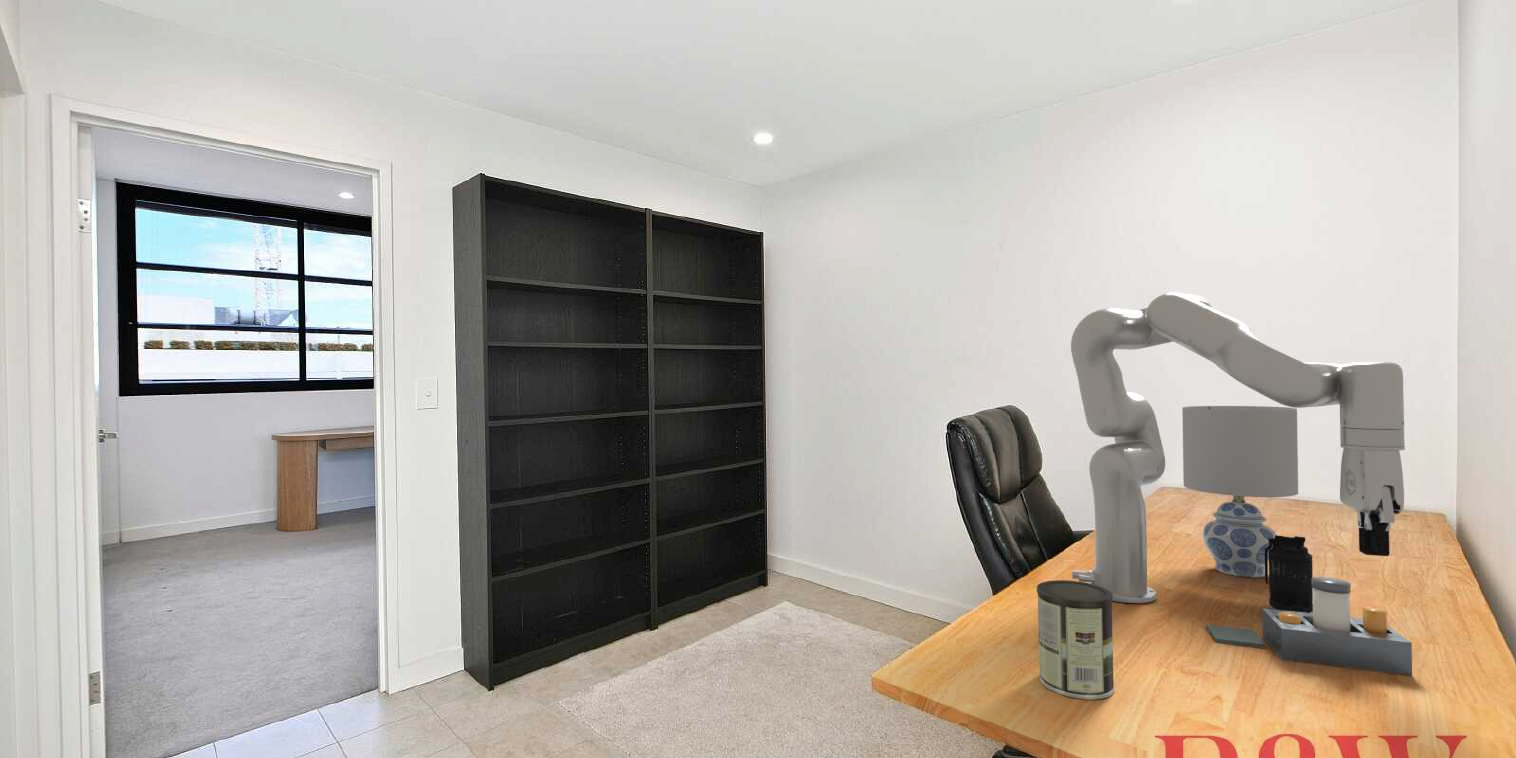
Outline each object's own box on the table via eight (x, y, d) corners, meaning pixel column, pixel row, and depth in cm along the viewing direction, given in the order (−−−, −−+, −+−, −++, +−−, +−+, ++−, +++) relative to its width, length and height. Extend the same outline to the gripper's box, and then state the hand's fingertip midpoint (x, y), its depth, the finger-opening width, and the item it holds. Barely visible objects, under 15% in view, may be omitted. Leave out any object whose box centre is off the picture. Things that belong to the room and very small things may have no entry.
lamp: (1187, 554, 168) (1185, 405, 168) (1296, 567, 155) (1293, 406, 155) (1182, 575, 151) (1179, 409, 151) (1303, 592, 138) (1300, 410, 138)
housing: (1282, 659, 106) (1281, 628, 106) (1262, 636, 115) (1262, 608, 115) (1412, 675, 100) (1411, 642, 100) (1380, 650, 109) (1380, 620, 109)
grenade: (1306, 611, 127) (1305, 533, 127) (1318, 622, 121) (1317, 541, 121) (1261, 606, 130) (1260, 530, 130) (1270, 617, 124) (1269, 537, 124)
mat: (1215, 642, 113) (1215, 638, 113) (1206, 627, 120) (1206, 624, 120) (1265, 648, 111) (1265, 644, 111) (1253, 632, 117) (1252, 629, 117)
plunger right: (1367, 643, 105) (1367, 611, 105) (1359, 636, 107) (1359, 606, 107) (1390, 645, 104) (1390, 613, 104) (1382, 639, 106) (1381, 608, 106)
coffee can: (1077, 665, 105) (1076, 576, 105) (1131, 694, 95) (1129, 596, 95) (1023, 674, 102) (1021, 583, 102) (1072, 705, 92) (1070, 604, 92)
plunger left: (1282, 646, 109) (1282, 616, 109) (1277, 640, 112) (1276, 611, 112) (1303, 649, 108) (1303, 618, 108) (1297, 642, 110) (1297, 613, 110)
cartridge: (1319, 658, 106) (1318, 584, 106) (1308, 647, 111) (1306, 575, 111) (1357, 663, 104) (1356, 587, 104) (1344, 651, 109) (1343, 578, 109)
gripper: (1323, 435, 114) (1325, 541, 114) (1362, 443, 100) (1365, 564, 100) (1379, 436, 111) (1382, 545, 111) (1428, 444, 97) (1430, 569, 97)
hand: (1374, 554), depth 105 cm, fingers closed
